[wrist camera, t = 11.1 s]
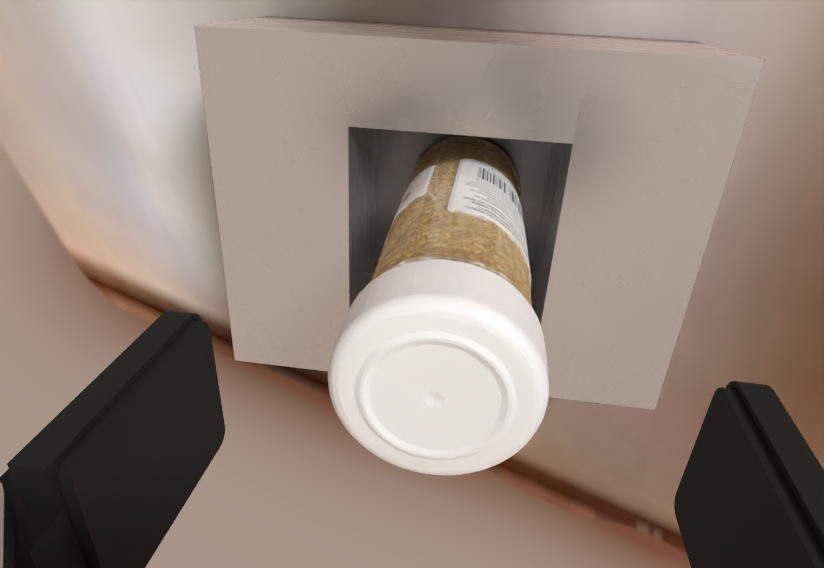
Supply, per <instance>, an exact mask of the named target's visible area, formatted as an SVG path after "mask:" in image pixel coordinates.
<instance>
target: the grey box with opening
mask: <svg viewBox="0 0 824 568" xmlns="http://www.w3.org/2000/svg"><path fill="white" fill-rule="evenodd" d="M194 27H195V36H196V44H197V52H198V60H199V69H200V77H201V85H202V93H203V102H204V110H205V118H206V126H207V135H208V143H209V151H210V160H211V168H212V176H213V184H214V193H215V201H216V209H217V217H218V226H219V234H220V242H221V250H222V259H223V267H224V275H225V283H226V292H227V300H228V308H229V317H230V325H231V333H232V341H233V350H234V358H235V360H236V361H244V362H253V363H261V364H270V365H278V366H287V367H295V368H304V369H312V370H321V371H328V366H329V361H330V356H331V353H332V350H333V347H334V345H335V342H336V339H337V337H338V334H339V332H340V329H341V326H342V324H343V322H344V320H345V317H346V315H347V313H348V311H349V309H350V307H351V305H352V303H353V302H354V300H355V298H356V297H357V296H358V294H359V293H360V292H361V291H362V290H363V289H364V288H365V287H366V286H367V285H368V284H369V283H370V281H371V279H372V276H373V274H374V272H375V270H376V267H377V264H378V261H379V259H380V257H381V253H382V250H383V247H384V243H385V241H386V238H387V235H388V233H389V231H390V228H391V225H392V223H393V220H394V218H395V215H396V213H397V210H398V208H399V205H400V203H401V200H402V198H403V196H404V193H405V191H406V190H407V188H408V185H409V180H410V175H411V173H412V171H413V168H414V166H415V164H416V162H417V161H418V159H419V158H420V157H421V156H422V155H423V154H424V153H425V152H426V151H428V150H429V149H430V148H431V147H432V146H433V145H435V144H437V143H439V142H441V141H443V140H445V139H447V138H450V137H475V138H479V139H483V140H485V141H489V142H491V143H492V144H494V145H496V146H497V147H498V148H499V149H501V150H502V151H504V152H505V153H506V155H507V156H508V157H509V158H510V160H511V162H512V164H513V165H514V166H515V168H516V172H517V174H518V176H519V180H520V187H521V197H520V204H521V208H522V214H523V221H524V228H525V235H526V242H527V249H528V257H529V265H530V273H531V291H530V292H531V303H532V308H533V310H534V312H535V313H536V315H537V317H538V319H539V322H540V325H541V328H542V331H543V335H544V341H545V348H546V356H547V366H548V380H549V396H548V397H550V398H558V399H567V400H575V401H584V402H592V403H601V404H609V405H618V406H626V407H635V408H643V409H652V410H655V409H656V405H657V402H658V399H659V396H660V393H661V389H662V386H663V383H664V380H665V377H666V374H667V370H668V367H669V364H670V361H671V358H672V354H673V351H674V348H675V345H676V342H677V339H678V335H679V332H680V329H681V326H682V323H683V319H684V316H685V313H686V310H687V307H688V303H689V300H690V297H691V294H692V291H693V288H694V284H695V281H696V278H697V275H698V272H699V268H700V265H701V262H702V259H703V256H704V253H705V249H706V246H707V243H708V240H709V237H710V233H711V230H712V227H713V224H714V221H715V218H716V214H717V211H718V208H719V205H720V202H721V198H722V195H723V192H724V189H725V186H726V183H727V179H728V176H729V173H730V170H731V167H732V163H733V160H734V157H735V154H736V151H737V148H738V144H739V141H740V138H741V135H742V132H743V128H744V125H745V122H746V119H747V116H748V112H749V109H750V106H751V103H752V100H753V97H754V93H755V90H756V87H757V84H758V81H759V77H760V74H761V71H762V68H763V65H764V62H765V60H762V59H759V58H755V57H751V56H748V55H744V54H740V53H736V52H733V51H729V50H725V49H721V48H718V47H714V46H710V45H707V44H703V43H699V42H694V41H677V40H660V39H643V38H626V37H609V36H592V35H575V34H558V33H541V32H524V31H507V30H490V29H473V28H456V27H439V26H422V25H405V24H388V23H371V22H354V21H337V20H320V19H303V18H286V17H269V16H265V17H257V18H249V19H241V20H233V21H225V22H217V23H209V24H201V25H194Z"/></svg>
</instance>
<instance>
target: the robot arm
mask: <svg viewBox="0 0 824 568" xmlns="http://www.w3.org/2000/svg"><path fill="white" fill-rule="evenodd" d="M224 434H225V425H224V418H223V411H222V405H221V398H220V392H219V386H218V379H217V372H216V366H215V359H214V352H213V346H212V339H211V333H210V328H209V325H208V324H207V323H205V322H202V319H201V317H200V316H199V315H198V314H194V313H186V312H178V311H166V312H165V313H163V314H162V315H161V316H160V317H159V318H158V319H157V320H156V321H155V322H154V323H153V324H152V325H151V326H150V327H149V328H148V329H146V330H145V331H144V332H143V333H142V334H141V335H140V336H139V337H138V338H137V339H136V340H135V341H134V342H133V343H132V344H131V345H130V346H129V347H128V348H127V349H126V350H125V351H124V352H123V353H122V354H121V355H119V356H118V357H117V358H116V359H115V360H114V362H112V363H111V364H110V365H109V366H108V367H107V368H106V369H105V370H104V371H103V372H102V373H101V374H100V375H99V376H98V377H97V378H96V379H95V380H94V381H92V382H91V384H89V386H87V387H86V388H85V389H84V390H83V391H82V392H81V393H80V394H79V395H78V396H77V397H76V398H75V399H74V400H73V401H72V402H71V403H70V404H69V405H68V406H67V407H66V408H64V410H62V411H61V412H60V413H59V414H58V415H57V416H56V417H55V418H54V419H53V420H52V421H51V422H50V423H49V424H48V425H47V426H46V427H45V428H44V429H43V430H42V431H41V432H40V433H39V434H38V435H36V436H35V437H34V438H33V439H32V440H31V441H30V442H29V443H28V444H27V445H26V446H25V447H24V448H23V449H22V450H21V451H20V452H19V453H18V454H17V455H16V456H15V457H14V458H13V459H12V460H11V461H10V462H9V463H8V464H7V465H8V467H9V469H8V470H7V471H6V472H5V473H4V474H3V475H2V476H1V477H0V568H145V567H146V565H147V564H148V562H149V560H150V559H151V557H152V556H153V554H154V552H155V551H156V549H157V548H158V546H159V544H160V543H161V541H162V539H163V538H164V536H165V534H166V533H167V531H168V530H169V528H170V527H171V525H172V524H173V522H174V520H175V519H176V517H177V515H178V514H179V512H180V511H181V509H182V507H183V506H184V504H185V502H186V501H187V499H188V498H189V496H190V495H191V493H192V491H193V490H194V488H195V487H196V485H197V483H198V482H199V480H200V478H201V477H202V475H203V474H204V472H205V470H206V469H207V467H208V466H209V464H210V462H211V461H212V459H213V458H214V456H215V454H216V453H217V451H218V450H219V448H220V446H221V444H222V442H223V438H224ZM674 507H675V515H676V519H677V522H678V525H679V528H680V532H681V535H682V538H683V542H684V545H685V548H686V552H687V555H688V558H689V562H690V565H691V568H824V470H823V468H822V466H821V465H820V463H819V462H818V460H817V459H816V457H815V455H814V454H813V452H812V451H811V449H810V447H809V446H808V444H807V443H806V441H805V439H804V438H803V436H802V435H801V433H800V431H799V430H798V428H797V427H796V425H795V424H794V422H793V420H792V419H791V417H790V416H789V414H788V412H787V411H786V409H785V408H784V406H783V404H782V403H781V401H780V400H779V398H778V397H777V395H776V393H775V392H774V390H773V389H772V388H771V387H770V386H767V385H762V384H754V383H746V382H738V381H732V382H730V383H729V384H728V385H727V386H726V388H718V389H717V390H716V391H715V393H714V395H713V398H712V401H711V403H710V406H709V409H708V411H707V414H706V416H705V419H704V422H703V424H702V427H701V429H700V432H699V435H698V437H697V440H696V443H695V445H694V448H693V450H692V453H691V456H690V458H689V461H688V463H687V466H686V469H685V471H684V474H683V477H682V479H681V482H680V484H679V487H678V490H677V492H676V496H675V506H674Z"/></svg>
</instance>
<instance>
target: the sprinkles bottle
mask: <svg viewBox="0 0 824 568" xmlns="http://www.w3.org/2000/svg"><path fill="white" fill-rule="evenodd" d="M520 197H521V187H520V180H519V176H518V174H517V172H516V168H515V166H514V165H513V164H512V162H511V160H510V158H509V157H508V156H507V155H506V153H505V152H504V151H502V150H501V149H499V148H498V147H497V146H496V145H494V144H492V143H491V142H489V141H485V140H483V139H479V138H475V137H450V138H447V139H445V140H443V141H441V142H439V143H437V144H435V145H433V146H432V147H431V148H430V149H429V150H428V151H426V152H425V153H424V154H423V155H422V156H421V157H420V158H419V159H418V161H417V162H416V164H415V166H414V168H413V171H412V173H411V175H410V180H409V185H408V188H407V190H406V191H405V193H404V196H403V198H402V200H401V203H400V205H399V208H398V210H397V213H396V215H395V218H394V220H393V223H392V225H391V228H390V231H389V233H388V235H387V238H386V241H385V243H384V247H383V250H382V253H381V257H380V259H379V261H378V264H377V267H376V270H375V272H374V274H373V276H372V279H371V281H370V283H369V284H368V285H367V286H366V287H365V288H364V289H363V290H362V291H361V292H360V293H359V294H358V296H357V297H356V298H355V300H354V302H353V303H352V305H351V307H350V309H349V311H348V313H347V315H346V317H345V320H344V322H343V324H342V326H341V329H340V332H339V334H338V337H337V339H336V342H335V345H334V347H333V350H332V353H331V356H330V361H329V366H328V386H329V393H330V398H331V401H332V404H333V407H334V409H335V411H336V413H337V415H338V417H339V418H340V420H341V422H342V424H343V425H344V427H345V428H346V429H347V430H348V432H349V433H350V434H351V435H352V436H353V437H354V438H355V439H356V440H357V441H358V442H359V443H360V444H361V445H362V446H363V447H364V448H366V449H367V450H368V451H370V452H371V453H372V454H374V455H376V456H377V457H379V458H381V459H383V460H384V461H386V462H388V463H391V464H393V465H396V466H398V467H401V468H404V469H408V470H410V471H415V472H419V473H424V474H432V475H462V474H468V473H472V472H477V471H481V470H484V469H487V468H490V467H492V466H495V465H497V464H499V463H501V462H503V461H505V460H506V459H508V458H510V457H512V456H513V455H514V454H516V453H517V452H518V451H519V450H520V449H522V448H523V447H524V446H525V445H526V444H527V443H528V442H529V440H530V439H531V438H532V437H533V435H534V434H535V432H536V431H537V429H538V428H539V426H540V424H541V422H542V420H543V418H544V415H545V412H546V408H547V404H548V396H549V380H548V366H547V356H546V348H545V341H544V335H543V331H542V328H541V325H540V322H539V319H538V317H537V315H536V313H535V312H534V310H533V308H532V303H531V292H530V291H531V273H530V265H529V257H528V249H527V242H526V235H525V228H524V221H523V214H522V208H521V204H520Z"/></svg>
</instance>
